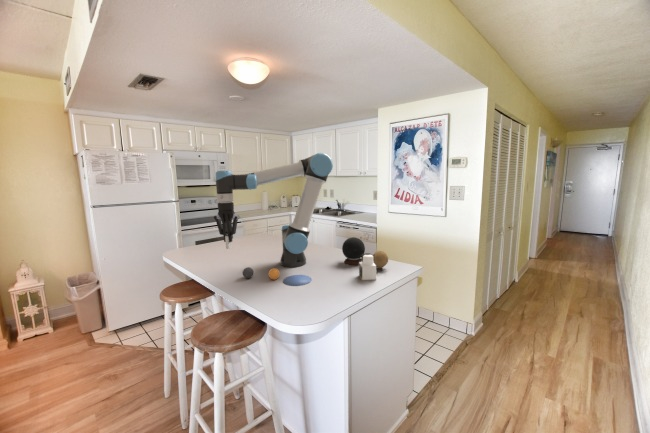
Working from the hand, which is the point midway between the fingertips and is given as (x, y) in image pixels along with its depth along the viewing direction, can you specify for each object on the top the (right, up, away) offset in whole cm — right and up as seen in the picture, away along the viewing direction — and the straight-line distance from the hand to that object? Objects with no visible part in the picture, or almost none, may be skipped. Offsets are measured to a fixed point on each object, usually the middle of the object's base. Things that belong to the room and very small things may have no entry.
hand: (228, 248), depth 146 cm
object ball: (+24, -13, -3) cm, 27 cm away
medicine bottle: (+70, -15, -3) cm, 72 cm away
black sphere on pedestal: (+66, -11, +21) cm, 70 cm away
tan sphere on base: (+79, -12, +9) cm, 80 cm away
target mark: (+35, -15, -4) cm, 39 cm away
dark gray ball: (+10, -13, 0) cm, 16 cm away
